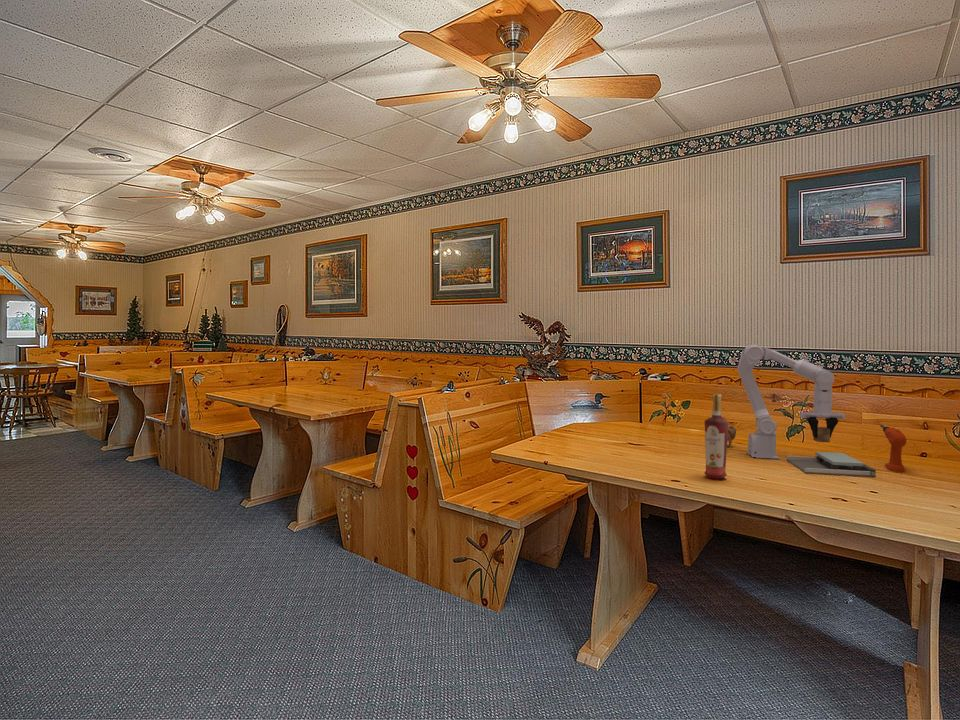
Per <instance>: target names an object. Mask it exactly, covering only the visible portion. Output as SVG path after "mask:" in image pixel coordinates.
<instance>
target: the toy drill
mask: <svg viewBox="0 0 960 720" xmlns="http://www.w3.org/2000/svg"><path fill="white" fill-rule="evenodd" d="M879 426H880V427H881V428H882V432H883V433H884V435H885V437H886V439H887V441H888V443H890V445H891V446H890V452H889V453H890V454H889V461H888V462H887V463H885V464H884V468H885V467H886V468H887V469H886V468H885V469H886V470H888V469H889V470H888V471H890V470H891V472H894V471H896V472H897V473H905V472H904V471H906V468H905V466H904V465H903V462H902V460H903V459H902V451H903V448H904V447H905V446H906V444H907V436H906V435H905V434H904V433H903V432H902V431H901V430H900V429H897V428H895V427H890V426H885V425H884V424H880V425H879ZM896 472H895V473H896Z"/></svg>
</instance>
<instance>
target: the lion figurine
mask: <svg viewBox="0 0 960 720" xmlns="http://www.w3.org/2000/svg"><path fill="white" fill-rule="evenodd" d="M736 434H737V429H736V427H735V426H734V425H729V426H728V440H727V442H728V448H729V447H732V442H733V440H734V439H736Z"/></svg>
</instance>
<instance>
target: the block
mask: <svg viewBox="0 0 960 720" xmlns="http://www.w3.org/2000/svg"><path fill="white" fill-rule="evenodd" d="M813 441H815V442H817V443H830V442H831V438H830V429H829V428H827V426H825V427H824V426H818V428H817V438H815V437H813Z"/></svg>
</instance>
